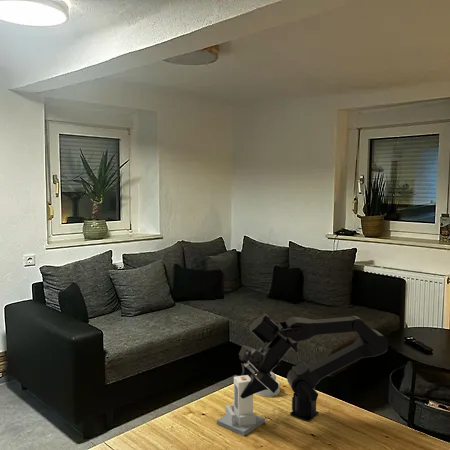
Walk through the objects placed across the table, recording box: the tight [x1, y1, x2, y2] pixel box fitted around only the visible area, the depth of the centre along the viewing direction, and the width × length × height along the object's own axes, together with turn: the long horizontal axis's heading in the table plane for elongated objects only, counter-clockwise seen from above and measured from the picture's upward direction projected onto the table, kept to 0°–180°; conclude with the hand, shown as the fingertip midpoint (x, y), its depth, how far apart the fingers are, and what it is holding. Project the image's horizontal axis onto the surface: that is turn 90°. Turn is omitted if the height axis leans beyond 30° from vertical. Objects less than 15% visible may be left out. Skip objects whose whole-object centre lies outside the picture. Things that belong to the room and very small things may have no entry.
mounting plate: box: [216, 403, 266, 437], centre depth 135 cm, size 10×10×4 cm
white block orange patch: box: [233, 375, 254, 419], centre depth 136 cm, size 5×4×11 cm
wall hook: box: [255, 371, 281, 397], centre depth 157 cm, size 9×10×10 cm
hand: (238, 394), depth 135 cm, fingers closed on white block orange patch, 4 cm apart
